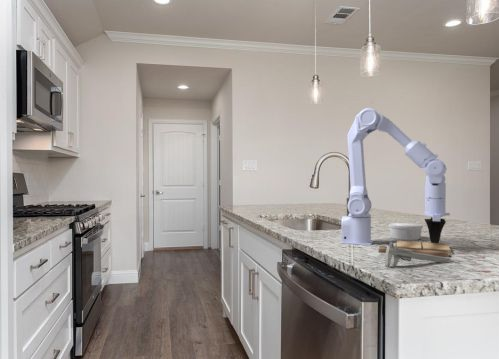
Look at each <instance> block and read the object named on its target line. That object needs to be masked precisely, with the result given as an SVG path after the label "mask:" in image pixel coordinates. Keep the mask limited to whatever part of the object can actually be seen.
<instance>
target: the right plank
mask: <svg viewBox="0 0 499 359" xmlns="http://www.w3.org/2000/svg"><path fill="white" fill-rule="evenodd" d="M421 248H422V249H432V250H447V252H448V254H449V255H451V254H452V253H451V252H452V251H451V248H450V246H449V244H448V243H441V242H439V243H431V242H427V241H426V242H424V241H422V242H421Z"/></svg>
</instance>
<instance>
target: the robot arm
mask: <svg viewBox="0 0 499 359" xmlns="http://www.w3.org/2000/svg"><path fill="white" fill-rule="evenodd" d="M375 131H378V132H382V133H387V134H388V135H390V137H392V138H393V139H394V140H395V141H396V142H398V143H399V144H400V146H402V147H403V148H404V154H405V156H407V157H408V159H409V160H410V161H412V162H413V163H414V164H415V165H416V166H418V167H419V168H420V169H422V168H423V170H424V173H425V175H426V176H425V183H424V211H423V215H424V216H426V217H427V216H428V217H431V218H424V221H425V223H426V226H427V229H428V236H429V241H430V243H440V240H441V236H442V230H443V228H444V226H445V225H446V223H447V222H446V219H445V218H441V217H446V216H448V217H449V216H451V214H450V212H446V201H447V200H446V194H447V193H446V192H447V190H446V186H447V185H446V176H445V174H447V173H446V172H447V169H448V168H447V166H446V164H445V162H444V161H443V160H442V159H440V158H439V155H438V154H437V153H435V154H434V152H432V151H431V150H430V149H429V148H428V147H427V144H426V143H425V142H424V141H423V142H421V141H420V140H412V138H410V137H409V136H408V135H406V134H405V133H404V132H403V131H402V130H401V129H400V128H399V127H398V126H397V125H396V124H395V123H394V122H393V121H391V119H389V118H387V117H386V116H384V114H381V113H378V111H377V109H375V108H372V107H366V108H363V109H362V110H361V111H360V112H359V113H357V114H356V116H355V117H354V120H353V123H352V125H351V126H350V129H349V130H348V133H347V136H346V138H347V148H348V150H347V151H348V165H349V167H348V168H349V180H350V190H349V199H348V201H347V205H346V206H347V210H348V212H349V213H348V215H342V217H341V224H340V225H341V231H340V235H341V236H340V237H341V238H340V239H341V242H340V244H347V245H361V246H372V244H373V242H374V241H373V239H372V235H371V234H372V215H371V214H370V211H371V209H372V202H371V199H370V197H369V195H368V194H369V192H368V189H367V188H368V187H367V183H366V168H365V166H366V165H365V154H364V140H365V138H366V137H367V136H368V135H370V134H371V133H372V132H375ZM371 239H372V240H371Z"/></svg>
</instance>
